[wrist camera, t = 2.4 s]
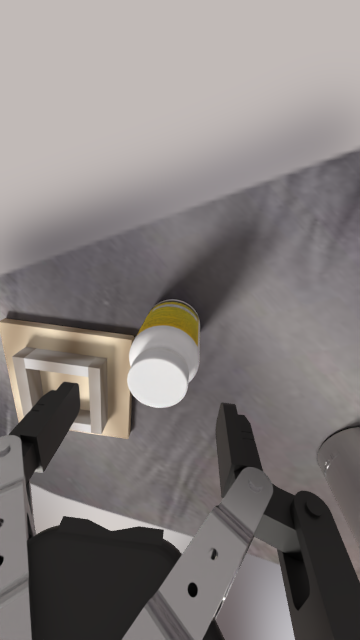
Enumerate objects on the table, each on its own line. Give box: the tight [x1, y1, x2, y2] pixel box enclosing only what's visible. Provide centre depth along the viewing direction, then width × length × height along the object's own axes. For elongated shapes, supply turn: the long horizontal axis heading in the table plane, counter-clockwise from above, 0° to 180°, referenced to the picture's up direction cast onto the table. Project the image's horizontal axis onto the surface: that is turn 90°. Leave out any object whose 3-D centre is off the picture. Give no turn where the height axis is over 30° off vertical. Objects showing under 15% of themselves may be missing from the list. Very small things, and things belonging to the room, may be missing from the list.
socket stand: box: [0, 318, 134, 439], centre depth 27 cm, size 14×14×3 cm
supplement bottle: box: [127, 299, 200, 408], centre depth 20 cm, size 5×5×10 cm
